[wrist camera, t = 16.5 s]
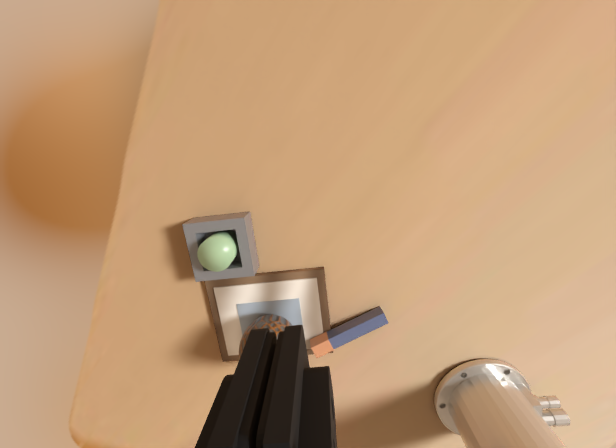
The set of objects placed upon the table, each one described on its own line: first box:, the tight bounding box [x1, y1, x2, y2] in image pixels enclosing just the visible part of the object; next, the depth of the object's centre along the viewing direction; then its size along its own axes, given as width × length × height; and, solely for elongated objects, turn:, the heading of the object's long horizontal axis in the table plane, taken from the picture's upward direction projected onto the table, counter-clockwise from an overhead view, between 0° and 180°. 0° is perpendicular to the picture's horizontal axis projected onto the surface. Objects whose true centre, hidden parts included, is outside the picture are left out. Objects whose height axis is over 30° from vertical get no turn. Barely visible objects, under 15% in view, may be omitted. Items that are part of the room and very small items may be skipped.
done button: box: [197, 230, 239, 272], centre depth 34 cm, size 4×4×4 cm
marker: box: [310, 306, 388, 358], centre depth 38 cm, size 10×2×2 cm, turn 116°
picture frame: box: [205, 267, 333, 362], centre depth 39 cm, size 15×12×1 cm
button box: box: [182, 212, 259, 282], centre depth 35 cm, size 7×7×3 cm
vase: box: [239, 314, 292, 360], centre depth 34 cm, size 7×7×9 cm
